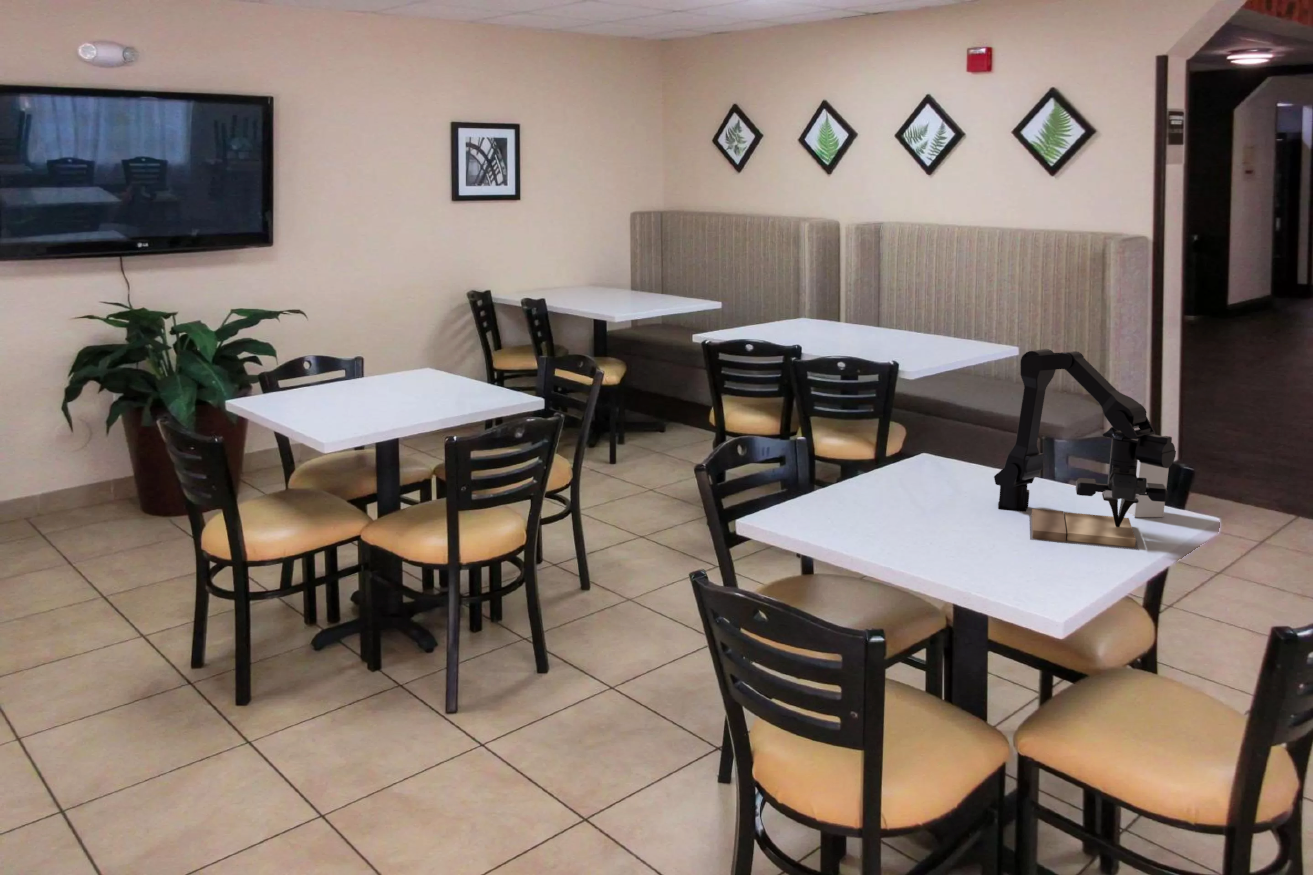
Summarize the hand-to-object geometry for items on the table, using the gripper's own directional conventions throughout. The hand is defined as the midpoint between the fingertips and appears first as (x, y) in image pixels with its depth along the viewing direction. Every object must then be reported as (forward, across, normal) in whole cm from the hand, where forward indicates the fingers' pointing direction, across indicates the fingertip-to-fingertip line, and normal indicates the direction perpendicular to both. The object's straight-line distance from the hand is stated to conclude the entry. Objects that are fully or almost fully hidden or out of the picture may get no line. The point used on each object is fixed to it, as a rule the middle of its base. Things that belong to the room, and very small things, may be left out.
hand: (1117, 526), depth 252 cm
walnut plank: (+2, -15, 0) cm, 15 cm away
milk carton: (+3, +7, +22) cm, 23 cm away
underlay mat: (+2, -8, 0) cm, 8 cm away
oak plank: (+2, -4, 0) cm, 4 cm away
